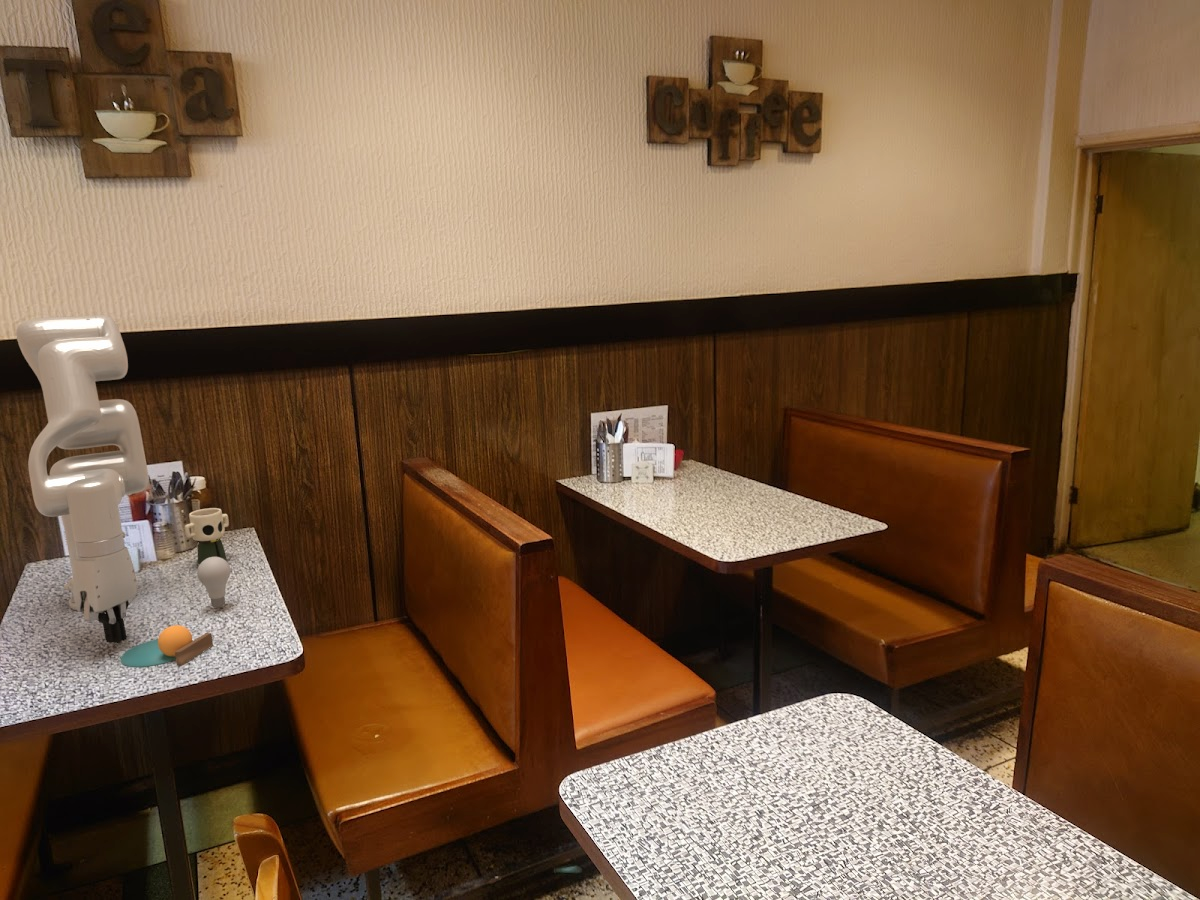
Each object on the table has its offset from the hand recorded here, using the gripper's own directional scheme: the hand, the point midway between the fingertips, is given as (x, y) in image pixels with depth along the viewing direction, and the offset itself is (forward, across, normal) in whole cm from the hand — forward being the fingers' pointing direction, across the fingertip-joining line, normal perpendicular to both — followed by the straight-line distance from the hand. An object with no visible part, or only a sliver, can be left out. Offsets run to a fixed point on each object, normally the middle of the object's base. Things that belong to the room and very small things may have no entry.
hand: (116, 640), depth 153 cm
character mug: (+2, -44, -15) cm, 47 cm away
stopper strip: (+2, 0, +17) cm, 17 cm away
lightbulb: (+2, -20, +6) cm, 21 cm away
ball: (-1, 0, +14) cm, 14 cm away
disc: (+2, 0, +9) cm, 9 cm away
